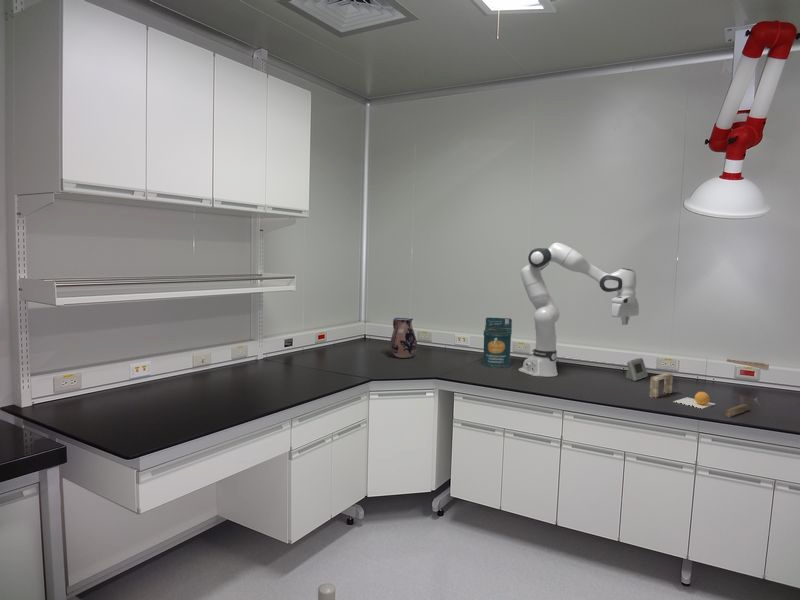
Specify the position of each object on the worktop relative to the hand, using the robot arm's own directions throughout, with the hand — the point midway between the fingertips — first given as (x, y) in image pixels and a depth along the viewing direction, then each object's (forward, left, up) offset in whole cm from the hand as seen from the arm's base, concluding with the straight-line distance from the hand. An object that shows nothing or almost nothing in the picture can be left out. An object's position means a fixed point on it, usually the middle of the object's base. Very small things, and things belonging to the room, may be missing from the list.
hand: (624, 324), depth 282 cm
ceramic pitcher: (-117, -63, -31) cm, 137 cm away
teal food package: (-66, -28, -31) cm, 78 cm away
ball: (+45, -8, -28) cm, 54 cm away
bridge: (+26, -8, -31) cm, 41 cm away
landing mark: (+42, -8, -31) cm, 53 cm away
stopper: (+60, -8, -31) cm, 68 cm away
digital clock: (+1, +14, -31) cm, 34 cm away
